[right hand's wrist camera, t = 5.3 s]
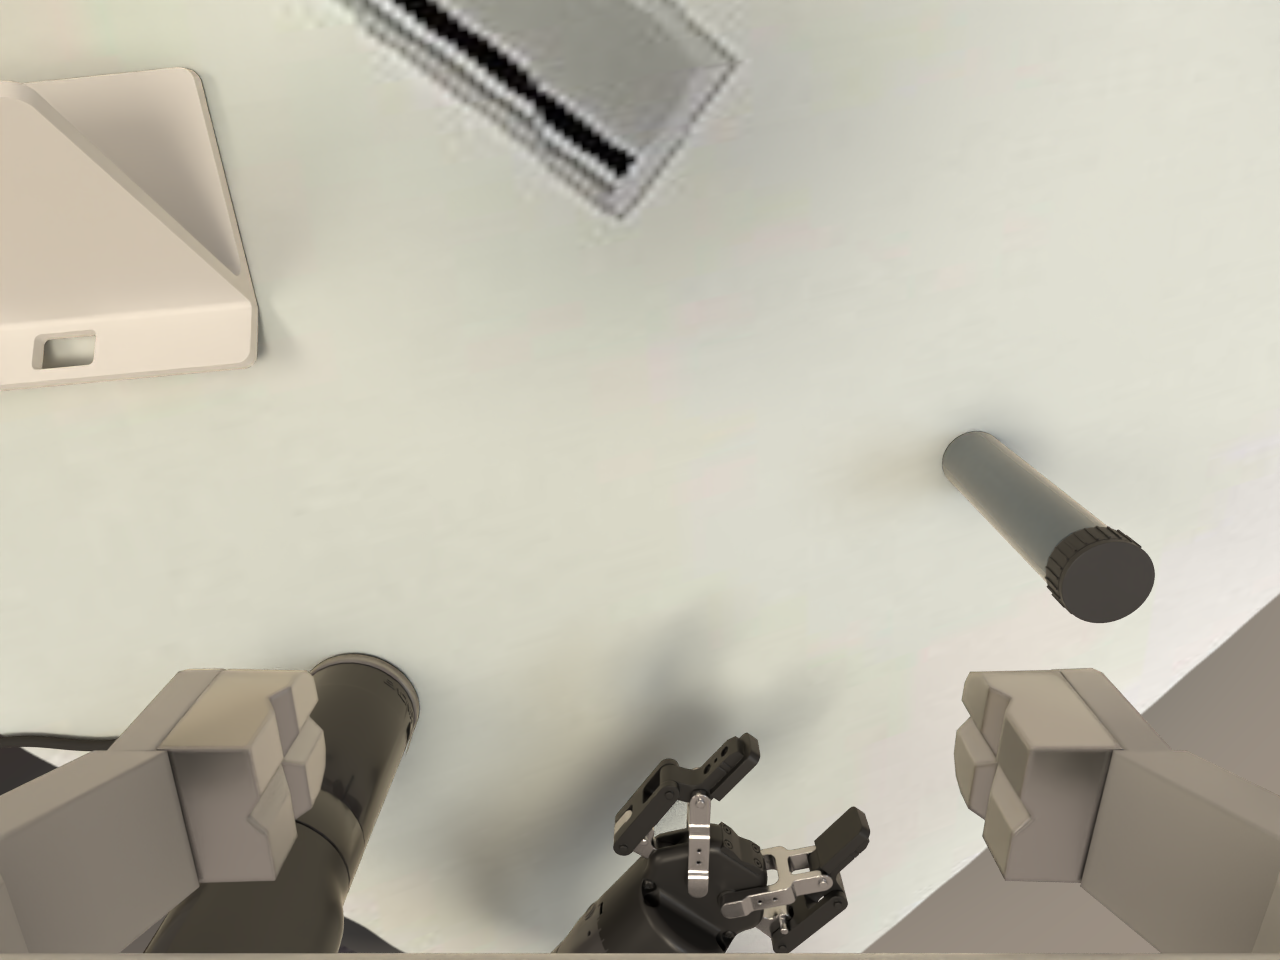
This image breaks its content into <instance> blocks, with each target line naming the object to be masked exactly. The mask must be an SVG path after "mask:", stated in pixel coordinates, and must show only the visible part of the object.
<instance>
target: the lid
mask: <svg viewBox="0 0 1280 960" xmlns="http://www.w3.org/2000/svg"><path fill="white" fill-rule="evenodd" d="M1048 558H1049V559H1048V562H1047V566H1045V569H1046V576H1045V579H1046V581H1047V584H1048V586H1047V588H1048V589H1049V590H1050V591H1051V592H1052V593H1053V594H1052V596H1053V597H1054V598H1055V599H1056V600H1057V601H1058V602H1059V603H1060V604H1061V605H1062V606H1063V607H1064V608H1066V609H1067V610H1068V611H1069V612H1070V613H1071V614H1073V615H1074V616H1076V617H1077V618H1079V619H1081V620H1084V621H1087V622H1092V623H1107V622H1112V621H1116V620H1119V619H1121V618H1124V617H1126V616H1127V615H1129V614H1131V613H1132V612H1134V611H1135V610H1136V609H1137V608H1139V607H1140V606H1141V605H1142V604H1143V602H1144V601H1145V600H1146V599H1147V597H1148V596H1149V594H1150V592H1151V590H1152V587H1153V584H1154V578H1155V571H1154V566H1153V563H1152V561H1151V559H1150V557H1149V556H1148V554H1147V553H1146V552H1145V551H1144V550H1142V549H1141V546H1140V545H1139V544H1137V543H1136V542H1135V541H1134V540H1132V539H1131V538H1130V537H1128V536H1127V535H1125V534H1124V533H1122V532H1121V531H1120V530H1117V531H1116V530H1114V529H1111V528H1110V527H1108V526H1107V528H1106V527H1099V526H1096V527H1090V528H1084V529H1082V530H1079V531H1076V532H1073V534H1071V535H1069V536H1068V537H1066V538H1065V539H1062V541H1061V542H1060V543H1059V544H1058V545H1057V546H1056V547H1055V548H1054V550H1053V552H1052V553H1051V555H1050V556H1049V557H1048Z"/></svg>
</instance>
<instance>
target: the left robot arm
mask: <svg viewBox="0 0 1280 960" xmlns="http://www.w3.org/2000/svg"><path fill="white" fill-rule="evenodd" d="M310 674H311V675H312V676H313V677H314V681H315V686H316V691H317V696H318V702H317V704H316V705H315V707H314V709H313V711H312V712H311V714H310V718H311V719H312V720H313V721H314V722H315V723H316V724H317V725H318V726H319V727H320V728H321V729H322V730H323V732H324V739H325V746H326V767H325V771H324V776H323V780H322V785H321V789H320V792H319V794H318V796H317V798H316V800H315V803H314V805H313V807H312V809H310V810H309V811H307V812H306V813H304V814H303V815H301V816H300V817H299V818H297V819H296V820H295V824H296V830H297V836H298V837H297V839H296V841H295V842H294V844H293V846H292V848H291V850H290V852H289V854H288V856H287V858H286V860H285V862H284V864H283V866H282V868H281V870H280V872H279V874H278V876H277V878H276V880H275V881H243V882H208V883H199V888H197V889H196V890H195V891H194V892H193V893H191V894H190V895H189V896H188V897H186V898H185V899H184V900H183V901H182V902H180V903H179V904H178V905H177V906H176V907H174V908H173V909H172V910H171V911H169V912H168V914H167V916H166V917H165V919H164V921H163V922H162V924H161V925H160V927H159V929H158V930H157V932H156V933H155V935H154V937H153V938H152V940H151V941H150V943H149V945H148V946H147V948H146V949H145V951H144V952H143V953H338V950H339V947H340V943H341V939H342V935H343V927H344V915H343V905H344V902H345V899H346V897H347V894H348V891H349V889H350V886H351V884H352V881H353V879H354V876H355V874H356V871H357V869H358V866H359V864H360V861H361V859H362V856H363V853H364V851H365V848H366V846H367V843H368V841H369V838H370V836H371V833H372V831H373V828H374V826H375V823H376V821H377V818H378V816H379V813H380V811H381V808H382V806H383V803H384V801H385V798H386V796H387V793H388V791H389V788H390V786H391V783H392V781H393V778H394V776H395V773H396V771H397V768H398V766H399V763H400V761H401V758H402V756H403V753H404V751H405V748H406V746H407V743H408V741H409V739H410V741H409V745H410V742H411V738H412V735H413V732H414V729H415V727H416V724H417V721H418V717H419V702H418V698H417V694H416V692H415V690H414V688H413V686H412V684H411V683H410V682H409V680H408V679H407V678H406V677H405V676H404V675H403V674H402V673H401V672H400V671H399V670H398V669H396V668H395V667H394V666H392V665H390V664H389V663H387V662H385V661H383V660H380V659H378V658H375V657H371V656H367V655H360V654H346V655H339V656H335V657H332V658H329V659H327V660H325V661H323V662H321V663H320V664H318V665H317V666H316V667H314V668H313V669H312V670H311V672H310ZM116 740H117V739H116ZM116 740H77V739H66V738H55V737H43V736H12V737H2V738H0V748H8V747H42V748H54V749H64V750H76V751H94V750H108V749H109V748H110V746H111V745H112V744H113V743H114V742H115V741H116ZM409 745H408V748H409ZM408 748H407V751H408ZM406 753H407V752H406ZM405 756H406V755H405ZM759 759H760V751H759V745H758V740H757V739H756V738H754V737H753V736H751V735H750V734H748V733H745V734H743V735H742V736H741V737H740V738H737V737H736V736H735V737H733V738H731V739H728V740H727V741H726V742H725V743H724V744H723V745H722V746H721V747H720V748H719V749H718V750H717V752H715V753H714V754H713V755H712V756H711V757H710V758H709V759H708V760H707V761H706V762H705V763H704V764H703V765H702V766H701V767H697V768H694V769H692V770H691V769H686V768H682V767H679V765H678V763H677V762H676V761H675V760H673V759H664V760H663V761H661V762H660V764H659V765H658V766H657V767H656V768H655V770H654V771H653V772H652V773H651V774H650V775H649V777H648V778H647V779H646V780H645V781H644V783H643V784H642V785H641V786H640V787H639V789H638V790H637V791H636V792H635V793H634V794H633V796H632V797H631V798H630V799H629V800H628V802H627V803H626V804H625V805H624V806H623V807H622V809H621V810H620V811H619V812H618V813H617V815H616V817H615V827H614V846H613V848H614V851H615V852H616V853H617V854H619V855H622V856H625V855H629V854H630V853H632V852H633V851H634V852H636V853H638V854H640V855H641V857H640V858H639V859H638V860H637V861H636V862H635V863H634V864H633V865H632V866H631V867H630V868H629V869H628V870H627V871H626V872H625V873H624V874H623V875H622V876H621V877H620V878H619V879H618V880H617V881H616V882H615V883H614V884H613V885H612V886H611V887H610V888H609V889H608V890H607V891H606V892H605V893H604V894H603V895H602V896H601V897H600V898H599V899H598V900H597V901H596V902H595V903H593V904H592V905H591V906H590V907H589V908H588V910H587V911H586V912H585V913H584V914H583V916H582V917H581V918H580V919H579V920H578V921H577V923H576V924H575V925H574V927H573V928H572V930H571V931H570V933H569V934H568V935H567V937H566V938H565V939H564V940H563V941H562V942H561V943H560V944H559V945H558V946H557V947H556V948H555V949H554V950H553V951H552V952H551V953H725V952H726V950H727V949H728V947H729V945H730V943H731V942H732V940H733V939H734V937H735V936H736V935H737V934H738V933H740V932H742V931H745V930H748V929H751V928H754V927H757V928H758V929H759V930H761V931H762V932H764V933H765V934H766V935H768V936H769V937H771V939H772V945H773V950H774V952H775V953H789V952H791V951H792V950H793V949H795V948H796V947H797V946H798V945H800V944H801V943H802V942H803V941H805V940H806V939H807V938H809V937H810V936H811V935H812V934H814V933H815V932H816V931H818V930H819V929H820V928H821V927H823V926H824V925H825V924H826V923H828V922H829V921H830V920H832V919H833V918H834V917H835V916H837V915H838V914H839V913H841V912H842V911H843V910H844V909H846V907H847V905H848V902H847V898H846V894H845V890H844V887H843V883H842V879H841V875H840V871H841V870H842V869H843V868H844V867H846V866H847V865H848V864H849V863H850V862H851V861H852V860H853V859H854V858H856V857H857V856H858V855H859V853H861V852H862V851H863V850H864V849H866V847H867V845H868V843H869V835H870V828H869V825H868V822H867V819H866V816H865V814H864V813H863V812H862V811H860V810H859V809H857V808H856V807H851V808H849V809H848V810H847V811H846V812H845V813H844V814H843V815H842V816H841V817H840V818H839V819H838V820H836V821H835V822H834V823H833V824H832V825H831V826H830V827H829V828H828V829H827V830H826V831H825V832H824V833H822V834H821V835H820V836H819V837H818V838H817V839H816V840H815V841H814V842H815V846H809V847H804V848H799V849H794V850H787V849H785V848H784V847H782V846H777V847H772V848H767V849H762V850H760V847H759V846H758V845H756V844H755V843H753V842H752V841H750V840H747V839H744V838H741V837H739V836H738V835H737V834H736V833H735V832H734V831H733V830H732V829H731V828H730V827H729V826H727V825H726V824H724V823H723V822H721V823H720V824H719V825H717V824H710V809H711V800H712V799H713V798H715V799H717V800H718V801H720V800H721V799H722V798H723V797H724V796H725V795H726V794H727V793H728V792H729V791H730V790H731V789H732V788H733V787H734V786H735V785H736V784H737V783H738V782H739V781H740V780H741V779H742V778H743V777H744V776H745V775H746V774H747V773H748V772H750V771H751V770H752V769H753V768H754V767H755V766H756V764H757V763H758V761H759ZM677 800H680V801H684V802H687V824H686V828H685V829H680V830H675V831H671V832H666V833H662V834H659V835H657V836H655V837H654V826H655V825H656V824H657V823H658V822H659V820H660V819H661V818H662V817H663V816H664V815H665V814H666V812H667V811H668V810H669V809H670V808H671V807H672V805H673V804H674V803H675V802H676V801H677ZM805 868H809V869H810V872H805V873H800V874H791V873H792V872H793V871H795V870H800V869H805ZM770 869H775V870H777V871H778V877H779V878H778V881H777V882H776V883H775V884H773V885H769V886H767V870H770ZM822 896H824V898H822V899H821V900H820V901H819V902H818V900H819V899H820V898H821V897H822Z"/></svg>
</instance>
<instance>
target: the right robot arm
mask: <svg viewBox="0 0 1280 960" xmlns="http://www.w3.org/2000/svg"><path fill="white" fill-rule="evenodd" d="M317 702H318V696H317V691H316V686H315V681H314V677H313V676H312V675H311V674H310V673H309V672H308V671H307V670H259V669H228V670H226V669H187V670H183V671H179V672H178V673H177V674H176V675H175V676H174V677H173V678H172V679H171V680H170V682H169V683H168V684H167V685H166V686H165V687H164V688H163V689H162V690H161V691H160V693H159V694H158V695H157V696H156V697H155V698H154V699H153V700H152V701H151V702H150V704H149V705H148V706H147V707H146V708H145V709H144V710H143V711H142V712H141V713H140V715H139V716H138V717H137V718H136V719H135V720H134V721H133V722H132V723H131V724H130V726H129V727H128V728H127V729H126V730H125V731H124V732H123V733H122V734H121V735H120V737H119V738H118V739H117V740H116V741H115V742H114V743H113V744H112V745H111V746H110V748H109V749H108V750H94V751H91V752H89V753H87V754H85V755H83V756H81V757H79V758H77V759H75V760H73V761H71V762H69V763H67V764H65V765H63V766H61V767H59V768H57V769H54V770H52V771H50V772H48V773H46V774H44V775H42V776H40V777H38V778H36V779H34V780H32V781H30V782H28V783H26V784H24V785H21V786H19V787H17V788H15V789H13V790H11V791H9V792H7V793H5V794H3V795H1V796H0V960H1280V796H1279V795H1277V794H1275V793H1273V792H1271V791H1269V790H1267V789H1264V788H1262V787H1260V786H1258V785H1256V784H1254V783H1252V782H1250V781H1248V780H1246V779H1244V778H1242V777H1240V776H1238V775H1236V774H1234V773H1232V772H1230V771H1228V770H1225V769H1223V768H1221V767H1219V766H1217V765H1215V764H1213V763H1211V762H1209V761H1207V760H1205V759H1203V758H1201V757H1199V756H1197V755H1195V754H1193V753H1191V752H1188V751H1186V750H1172V749H1171V748H1170V747H1169V745H1168V744H1167V743H1166V742H1165V741H1164V740H1163V739H1162V738H1161V737H1160V736H1159V734H1158V733H1157V732H1156V731H1155V730H1154V729H1153V728H1152V727H1151V726H1150V724H1149V723H1148V722H1147V721H1146V720H1145V719H1144V718H1143V717H1142V716H1141V715H1140V713H1139V712H1138V711H1137V710H1136V709H1135V708H1134V707H1133V706H1132V705H1131V704H1130V702H1129V701H1128V700H1127V699H1126V698H1125V697H1124V696H1123V695H1122V694H1121V693H1120V691H1119V690H1118V689H1117V688H1116V687H1115V686H1114V685H1113V684H1112V683H1111V682H1110V680H1109V679H1108V678H1107V677H1106V676H1105V675H1104V674H1103V673H1102V672H1100V671H1098V670H1095V669H1093V668H1080V669H1052V670H1030V671H982V672H970V673H969V675H968V677H967V679H966V681H965V684H964V689H963V695H962V702H963V704H964V705H965V707H966V709H967V711H968V712H969V714H970V717H969V719H968V720H967V721H966V722H965V723H964V724H963V725H962V726H961V727H960V728H959V729H958V730H957V732H956V740H955V749H954V760H955V772H956V778H957V782H958V785H959V789H960V792H961V794H962V796H963V798H964V801H965V803H966V805H967V807H968V809H970V810H971V811H973V812H974V813H976V814H977V815H979V816H980V817H981V818H983V819H984V820H985V824H984V830H983V836H982V837H983V839H984V841H985V842H986V844H987V846H988V848H989V850H990V852H991V854H992V856H993V858H994V860H995V862H996V864H997V866H998V868H999V870H1000V872H1001V874H1002V875H1003V877H1004V879H1005V881H1036V882H1071V883H1081V885H1080V886H1081V887H1082V888H1083V889H1084V890H1085V891H1087V892H1088V893H1089V894H1090V895H1091V896H1093V897H1094V898H1095V899H1096V900H1098V901H1099V902H1100V903H1101V904H1102V905H1104V906H1105V907H1106V908H1107V909H1109V910H1110V911H1111V912H1112V913H1113V914H1115V915H1116V916H1117V917H1118V918H1119V919H1121V920H1122V921H1123V922H1124V923H1125V924H1127V925H1128V926H1129V927H1130V928H1131V929H1133V930H1134V931H1135V932H1136V933H1137V934H1139V935H1140V936H1141V937H1142V938H1144V939H1145V940H1146V941H1147V942H1148V943H1150V944H1151V945H1152V946H1153V947H1154V948H1156V949H1157V950H1158V951H1159V952H1160V953H120V952H121V951H122V950H123V949H125V948H126V947H127V946H128V945H129V944H131V943H132V942H133V941H134V940H136V939H137V938H138V937H139V936H140V935H142V934H143V933H144V932H145V931H146V930H148V929H149V928H150V927H151V926H152V925H154V924H155V923H156V922H157V921H159V920H160V919H161V918H162V917H163V916H165V915H166V914H167V913H168V912H169V911H171V910H172V909H173V908H174V907H176V906H177V905H178V904H179V903H180V902H182V901H183V900H184V899H185V898H186V897H188V896H189V895H190V894H191V893H193V892H194V891H195V890H196V889H197V888H199V883H208V882H243V881H275V880H276V878H277V876H278V874H279V872H280V870H281V868H282V866H283V864H284V862H285V860H286V858H287V856H288V854H289V852H290V850H291V848H292V846H293V844H294V842H295V841H296V839H297V837H298V836H297V830H296V824H295V820H296V819H297V818H299V817H300V816H301V815H303V814H304V813H306V812H307V811H309V810H310V809H312V807H313V805H314V803H315V800H316V798H317V796H318V794H319V792H320V789H321V785H322V780H323V776H324V771H325V767H326V746H325V739H324V732H323V730H322V729H321V728H320V727H319V726H318V725H317V724H316V723H315V722H314V721H313V720H312V719H311V718H310V714H311V712H312V711H313V709H314V707H315V705H316V704H317Z"/></svg>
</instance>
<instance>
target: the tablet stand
mask: <svg viewBox="0 0 1280 960" xmlns="http://www.w3.org/2000/svg"><path fill="white" fill-rule="evenodd" d="M93 335H96V339H95V351H94V360H93V362H92V363H91V364H89V365H82V366H71V367H60V368H50V369H42V364H43V352H44V344H45V342H46V341H48V340H50V339H61V338H72V337H83V336H93ZM257 338H258V306H257V302H256V298H255V294H254V290H253V286H252V282H251V278H250V274H249V270H248V266H247V262H246V258H245V254H244V250H243V246H242V242H241V238H240V234H239V230H238V226H237V222H236V218H235V214H234V210H233V206H232V202H231V198H230V194H229V190H228V186H227V182H226V178H225V174H224V170H223V166H222V162H221V158H220V154H219V150H218V146H217V142H216V138H215V134H214V130H213V126H212V122H211V118H210V114H209V110H208V106H207V102H206V98H205V94H204V90H203V86H202V82H201V79H200V77H199V76H198V75H197V74H196V73H195V72H194V71H193V70H190V69H187V68H181V67H175V68H165V69H155V70H146V71H136V72H126V73H117V74H107V75H97V76H88V77H78V78H68V79H59V80H49V81H39V82H30V83H18V82H14V81H0V391H5V390H16V389H27V388H38V387H49V386H60V385H71V384H82V383H93V382H104V381H115V380H126V379H137V378H148V377H159V376H169V375H180V374H191V373H202V372H213V371H224V370H235V369H245V368H249V367H251V366H252V365H253V364H254V363H255V361H256V359H257Z"/></svg>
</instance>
